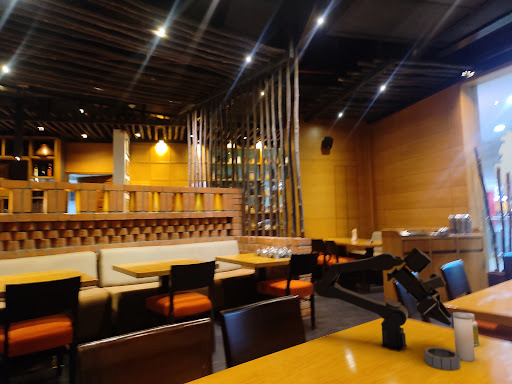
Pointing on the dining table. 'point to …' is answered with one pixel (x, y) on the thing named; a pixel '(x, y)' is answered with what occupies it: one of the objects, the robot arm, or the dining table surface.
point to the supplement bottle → (475, 331)
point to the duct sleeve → (464, 336)
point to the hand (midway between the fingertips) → (450, 320)
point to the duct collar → (442, 358)
